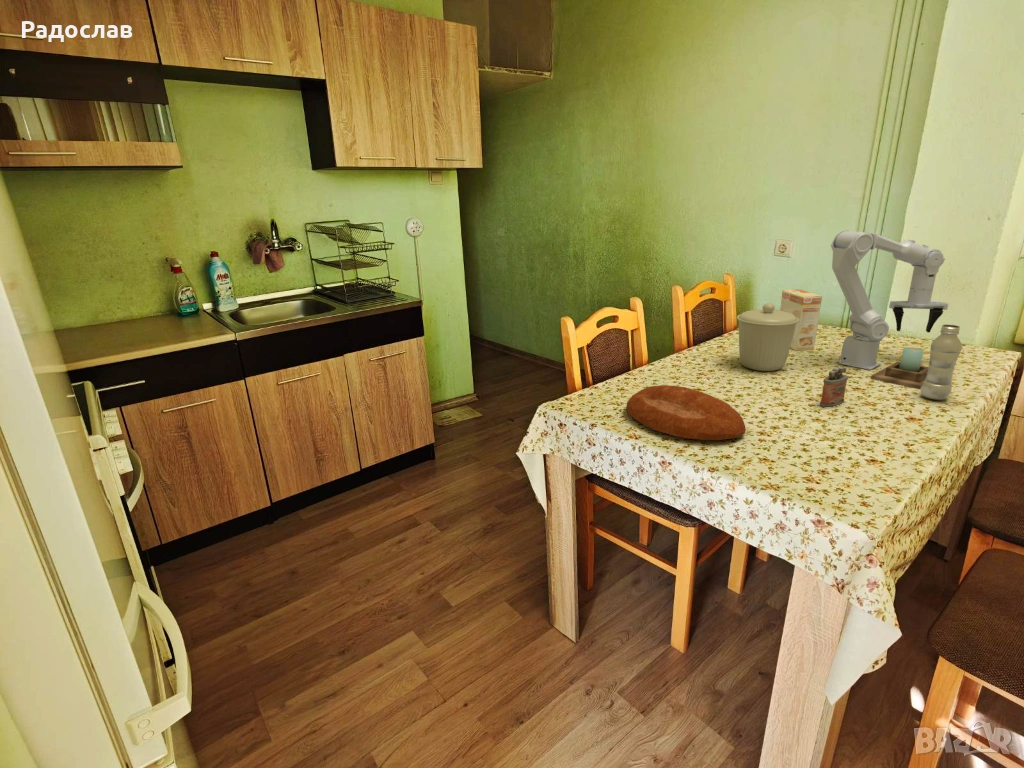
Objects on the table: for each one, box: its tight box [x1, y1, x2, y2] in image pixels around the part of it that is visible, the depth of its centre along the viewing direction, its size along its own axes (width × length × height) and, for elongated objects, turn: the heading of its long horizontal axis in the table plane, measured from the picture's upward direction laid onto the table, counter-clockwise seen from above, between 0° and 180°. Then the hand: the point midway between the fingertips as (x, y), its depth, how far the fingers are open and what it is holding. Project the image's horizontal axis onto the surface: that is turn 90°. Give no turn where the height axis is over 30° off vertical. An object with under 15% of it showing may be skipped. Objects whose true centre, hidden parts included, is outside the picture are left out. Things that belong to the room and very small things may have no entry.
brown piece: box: [870, 361, 929, 390], centre depth 155 cm, size 14×14×4 cm
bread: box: [626, 384, 747, 441], centre depth 133 cm, size 23×32×9 cm
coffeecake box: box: [779, 288, 823, 351], centre depth 191 cm, size 15×7×20 cm, turn 179°
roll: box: [899, 347, 925, 372], centre depth 154 cm, size 5×5×8 cm
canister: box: [736, 302, 799, 372], centre depth 169 cm, size 18×18×21 cm
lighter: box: [819, 366, 849, 408], centre depth 139 cm, size 8×3×10 cm, turn 117°
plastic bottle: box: [920, 324, 963, 401], centre depth 138 cm, size 6×7×20 cm
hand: (912, 331), depth 166 cm, fingers open, 7 cm apart
